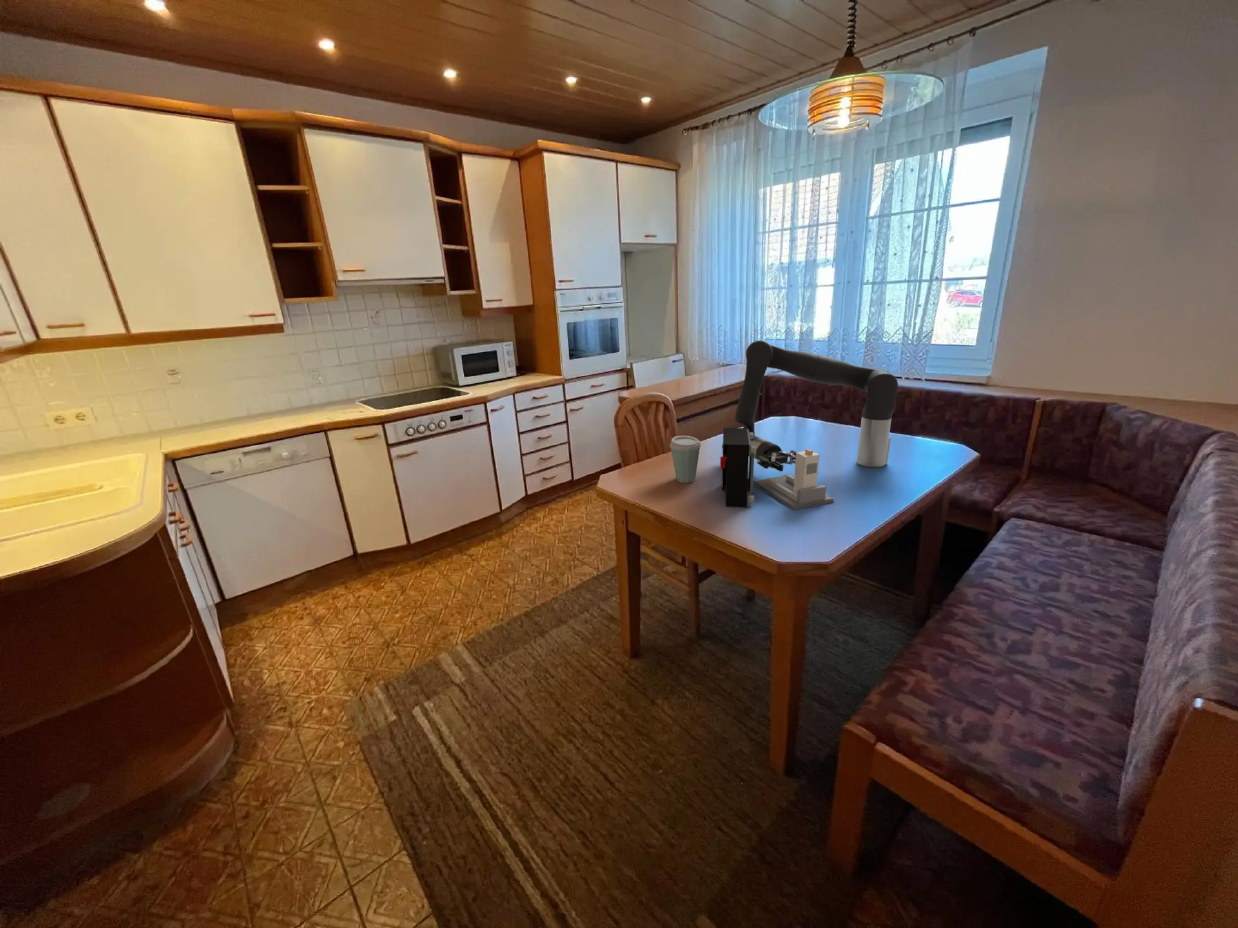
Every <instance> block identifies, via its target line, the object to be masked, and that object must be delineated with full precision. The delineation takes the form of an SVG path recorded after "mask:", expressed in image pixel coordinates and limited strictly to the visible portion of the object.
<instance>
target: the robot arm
mask: <svg viewBox="0 0 1238 928" xmlns="http://www.w3.org/2000/svg"><path fill="white" fill-rule="evenodd" d="M745 358H746V363H745V364H746V367H745V368H746V369H745V376H744V380H743V383H742V384H743V385H742V388H741V392H740V395H739V397H738V403H737V407H736V411H735V416H734V420H735V422H736V423H738V424H741V425H742V428H747V429H749V433H750V432H753V434H754V438H753V439H750V440H751V441H752V442H753V445H755V447H756V451H755V453H754V460H756V461H757V462H756V463H757V465H759V466H760V467H762V468H764V469H766V470H767V469H769V468H770V469H775V470H777V471H779V472H783V471H784V464H787V465H793V464H795V463H796V453H797V452H798V451H795V450H790V451H789V452H785V451H784V450H782V448H781V447H780V446H779V445H778V444H776V443H774V442H772V441H770V440H767V439H764V438H761V437H759V436H756V433H755V432H756V431H755V418H756V414H757V409H758V405H759V400H760V395H761V388H762V384H763V380H764V378H765V374H766V371H767V369H769V368H770V369H775V370H780V371H783V372H786V373H788V374H791V375H793V376H795V377H798V378H800V379H804V380H807V381H810V382H814V383H818V384H823V385H834V386H835V385H836V386H838V385H839V386H846V387H852V388H853V389H857V390H860V391H863V392H865V393H866V398H865V399H866V400H865V404H864V407H863V409H862V414H861V421H860V430H859V439H858V446H857V447H858V449H857V453H856V454H857V457H856V464H858V465H859V466H862V467H867V468H881V467H884V466H885V465H888V462H889V461H888V460H889V454H890V447H891V438H890V431H891V424H892V423H891V422H892V417H893V413H894V412H895V411H894V410H895V409H896V408H895V407H896V402H897V396H898V388H899V383H898V379H897V377H896V376H894V375H893V374H892V373H891V372H889V371H888V370H884V369H878V368H873V367H871V368H870V367H863V366H859V365H854V364H850V363H848V362H845V361H842V360H839V359H836V358H833V357H830V356H825V355H822V354H819V353H812V352H807V351H800V350H798V351H797V350H788V349H784V348H782V347H779V346H776V345H772V344H770V343H769V342H767V341H765V340H756V341H753V342H752V343H750V344H749V345H748V347H747V348H746V350H745Z"/></svg>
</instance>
